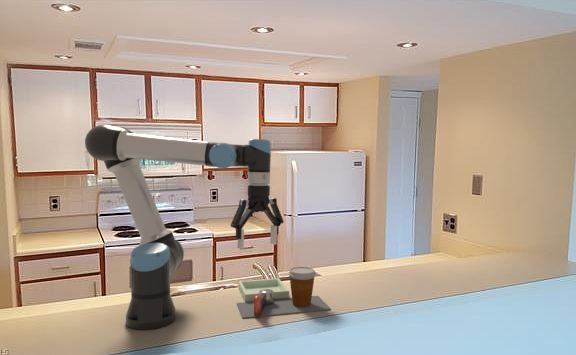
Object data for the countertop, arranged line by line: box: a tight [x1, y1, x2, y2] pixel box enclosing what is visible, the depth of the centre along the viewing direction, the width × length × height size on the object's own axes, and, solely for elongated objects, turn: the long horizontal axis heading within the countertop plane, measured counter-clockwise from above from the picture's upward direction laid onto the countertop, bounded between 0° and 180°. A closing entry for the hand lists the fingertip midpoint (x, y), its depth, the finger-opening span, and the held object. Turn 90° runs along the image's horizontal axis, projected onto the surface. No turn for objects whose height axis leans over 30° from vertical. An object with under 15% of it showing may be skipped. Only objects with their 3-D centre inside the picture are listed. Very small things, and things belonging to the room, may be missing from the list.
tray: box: [238, 277, 290, 302], centre depth 158 cm, size 16×16×3 cm
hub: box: [259, 289, 273, 305], centre depth 149 cm, size 19×5×4 cm, turn 105°
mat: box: [236, 295, 332, 319], centre depth 144 cm, size 30×14×1 cm, turn 105°
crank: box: [254, 293, 266, 316], centre depth 139 cm, size 10×2×6 cm, turn 170°
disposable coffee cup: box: [287, 266, 317, 307], centre depth 146 cm, size 10×10×12 cm
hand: (257, 246), depth 145 cm, fingers open, 13 cm apart
